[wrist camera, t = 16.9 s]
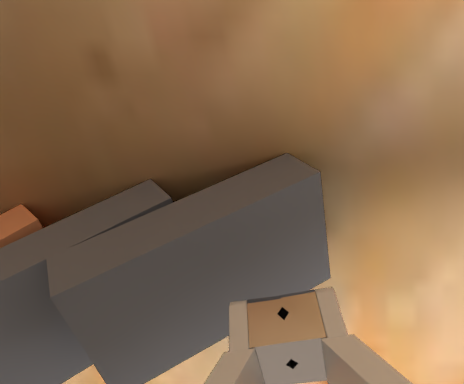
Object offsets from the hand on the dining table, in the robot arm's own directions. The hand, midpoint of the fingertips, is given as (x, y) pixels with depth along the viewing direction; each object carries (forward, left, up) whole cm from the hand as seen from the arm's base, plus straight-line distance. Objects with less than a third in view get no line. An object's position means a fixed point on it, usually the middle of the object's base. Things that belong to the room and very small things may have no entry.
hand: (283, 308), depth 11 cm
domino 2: (0, +2, -5) cm, 5 cm away
